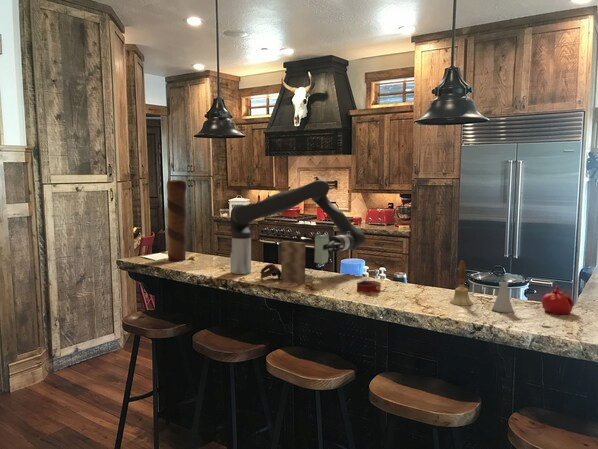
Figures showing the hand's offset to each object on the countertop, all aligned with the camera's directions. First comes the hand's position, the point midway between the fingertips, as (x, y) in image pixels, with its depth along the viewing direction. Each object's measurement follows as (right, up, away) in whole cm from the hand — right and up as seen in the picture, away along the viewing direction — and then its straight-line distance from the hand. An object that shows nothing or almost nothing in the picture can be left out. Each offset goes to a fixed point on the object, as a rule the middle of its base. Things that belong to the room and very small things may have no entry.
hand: (319, 247), depth 215 cm
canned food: (+20, -18, -14) cm, 30 cm away
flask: (+63, -21, -44) cm, 80 cm away
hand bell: (+52, -20, -34) cm, 65 cm away
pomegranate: (+81, -21, -46) cm, 96 cm away
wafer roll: (-78, -10, +56) cm, 96 cm away
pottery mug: (-21, -15, +6) cm, 27 cm away
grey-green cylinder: (+1, -7, +2) cm, 7 cm away
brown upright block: (-10, -15, +2) cm, 19 cm away
